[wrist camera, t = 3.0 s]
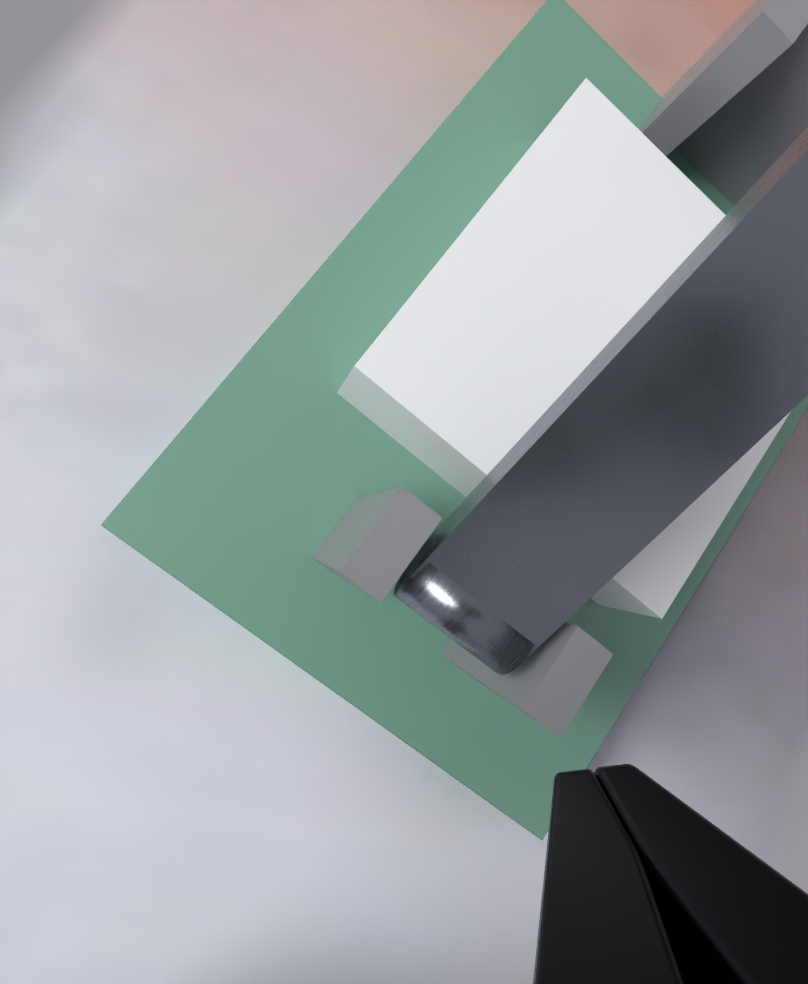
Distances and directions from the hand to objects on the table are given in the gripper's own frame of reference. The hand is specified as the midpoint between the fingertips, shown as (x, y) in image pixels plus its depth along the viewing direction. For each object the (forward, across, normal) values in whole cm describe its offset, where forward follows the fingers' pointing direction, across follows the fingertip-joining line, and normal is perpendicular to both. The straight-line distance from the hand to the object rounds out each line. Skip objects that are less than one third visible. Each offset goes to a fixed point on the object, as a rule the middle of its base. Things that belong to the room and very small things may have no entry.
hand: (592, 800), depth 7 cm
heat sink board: (+15, -2, -2) cm, 15 cm away
